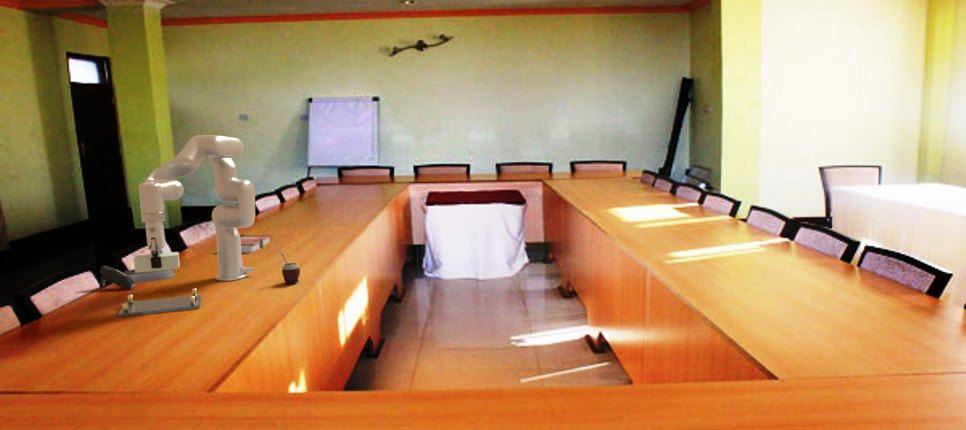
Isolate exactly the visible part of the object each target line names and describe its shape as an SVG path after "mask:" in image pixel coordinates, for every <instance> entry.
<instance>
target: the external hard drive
mask: <svg viewBox="0 0 966 430" xmlns="http://www.w3.org/2000/svg"><path fill="white" fill-rule="evenodd" d="M123 273H124V274H126V275H127V276H129V277H130V278H131V279H132V280H134V284H138V283H147V282H154V281H161V279H162V280H167V278H168V279H174V278H176V275H175V272H174V269H170V270H159V271H149V272H139V273H135V268H134V269H129V270H124V271H123Z"/></svg>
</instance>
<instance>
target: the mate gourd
mask: <svg viewBox="0 0 966 430" xmlns="http://www.w3.org/2000/svg"><path fill="white" fill-rule="evenodd" d="M275 250H276V251H278V252H279V253H280V254H281V256H282V259H283V260H284V263H285V264H283V266H282V269H281V273H282V274H281V275H282V277H283V279H284V285H291V284H292V285H295V286H296V285H297V283H299V277H300V275H301V270H300V265H298V263H296V262H287V259H286V257H285V253H284V252H282V251H281V250H280V249H278V248H275Z"/></svg>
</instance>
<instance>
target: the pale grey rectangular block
mask: <svg viewBox="0 0 966 430" xmlns="http://www.w3.org/2000/svg"><path fill="white" fill-rule="evenodd" d="M160 257H161V265H162V267H161V268H152V267H151V253H150V254H141V255H135V257H134V258H133V263H134V269H135V273H139V272H149V271H159V270H170V269H172V270H178V269H180V267H181V264H180V253H179V251H174V252H162V253H161V254H160Z"/></svg>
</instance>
